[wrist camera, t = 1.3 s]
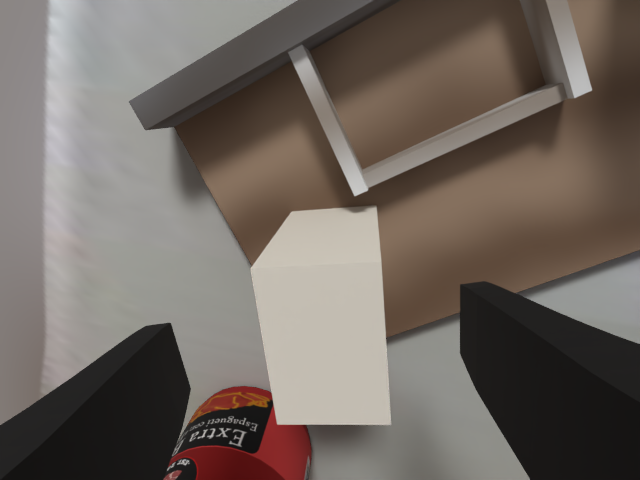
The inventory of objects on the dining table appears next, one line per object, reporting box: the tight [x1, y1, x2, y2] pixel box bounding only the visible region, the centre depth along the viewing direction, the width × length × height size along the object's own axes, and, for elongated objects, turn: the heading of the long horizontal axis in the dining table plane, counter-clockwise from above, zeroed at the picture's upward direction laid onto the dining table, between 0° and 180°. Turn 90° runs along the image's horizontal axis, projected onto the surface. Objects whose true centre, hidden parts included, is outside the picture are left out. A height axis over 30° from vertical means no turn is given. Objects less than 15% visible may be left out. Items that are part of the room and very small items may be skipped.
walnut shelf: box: [129, 0, 640, 338], centre depth 16 cm, size 15×26×4 cm, turn 116°
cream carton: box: [251, 205, 391, 425], centre depth 16 cm, size 4×6×7 cm
